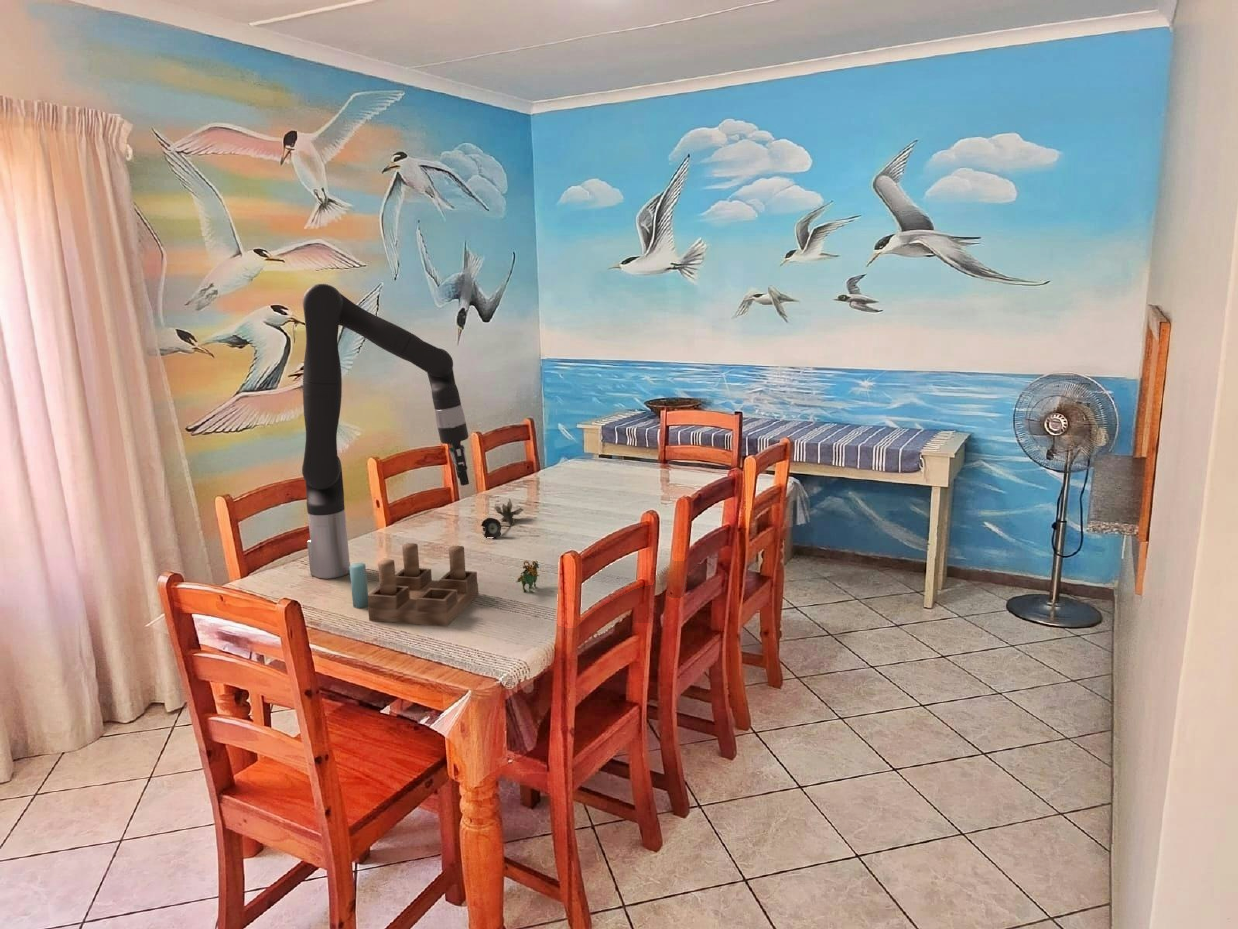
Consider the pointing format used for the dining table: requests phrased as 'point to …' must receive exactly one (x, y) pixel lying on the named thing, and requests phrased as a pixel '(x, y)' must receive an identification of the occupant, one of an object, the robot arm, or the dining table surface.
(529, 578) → the figurine
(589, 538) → the dining table surface
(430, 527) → the dining table surface
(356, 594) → the loose leg
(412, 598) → the stool seat
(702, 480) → the dining table surface
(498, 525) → the artificial flower
